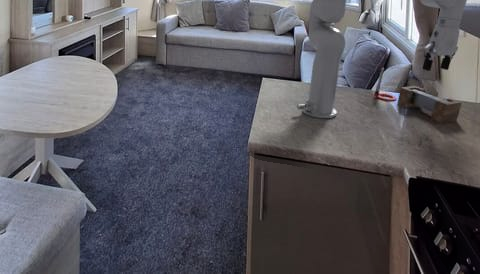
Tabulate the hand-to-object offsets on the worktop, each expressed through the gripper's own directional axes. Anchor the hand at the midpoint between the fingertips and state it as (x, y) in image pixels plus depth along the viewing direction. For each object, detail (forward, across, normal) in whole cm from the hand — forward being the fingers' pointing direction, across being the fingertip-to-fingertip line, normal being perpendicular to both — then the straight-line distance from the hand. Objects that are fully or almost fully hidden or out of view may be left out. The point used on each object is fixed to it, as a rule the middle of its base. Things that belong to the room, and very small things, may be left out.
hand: (435, 69), depth 148 cm
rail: (+15, +1, 0) cm, 15 cm away
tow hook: (+18, -1, +20) cm, 27 cm away
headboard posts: (+17, +1, 0) cm, 17 cm away
